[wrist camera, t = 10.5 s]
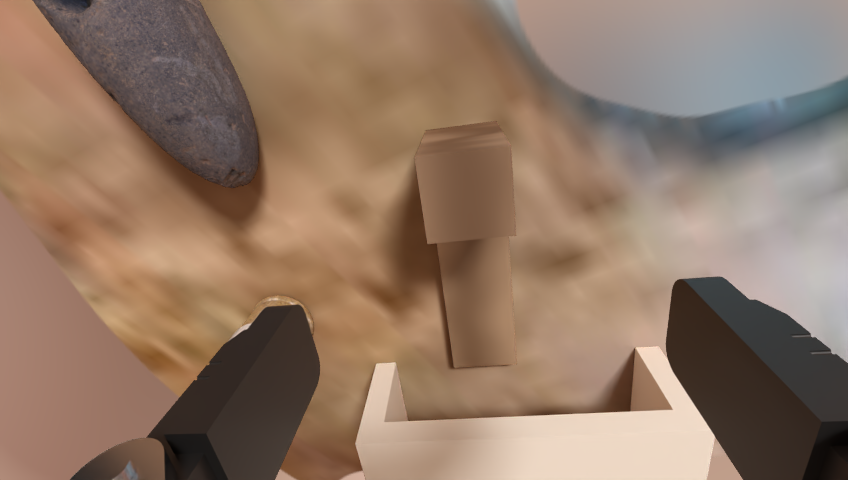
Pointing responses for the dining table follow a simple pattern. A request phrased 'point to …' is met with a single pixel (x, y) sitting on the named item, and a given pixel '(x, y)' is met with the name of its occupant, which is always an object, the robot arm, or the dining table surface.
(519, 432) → the shelf
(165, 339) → the dining table surface
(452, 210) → the brown l-shaped block
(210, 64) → the perforated stone tool
